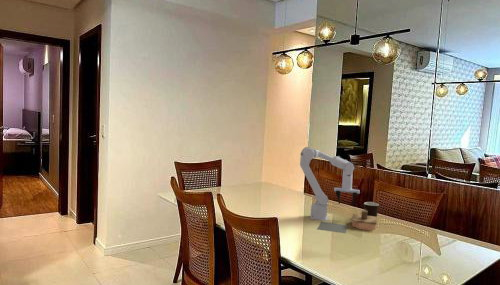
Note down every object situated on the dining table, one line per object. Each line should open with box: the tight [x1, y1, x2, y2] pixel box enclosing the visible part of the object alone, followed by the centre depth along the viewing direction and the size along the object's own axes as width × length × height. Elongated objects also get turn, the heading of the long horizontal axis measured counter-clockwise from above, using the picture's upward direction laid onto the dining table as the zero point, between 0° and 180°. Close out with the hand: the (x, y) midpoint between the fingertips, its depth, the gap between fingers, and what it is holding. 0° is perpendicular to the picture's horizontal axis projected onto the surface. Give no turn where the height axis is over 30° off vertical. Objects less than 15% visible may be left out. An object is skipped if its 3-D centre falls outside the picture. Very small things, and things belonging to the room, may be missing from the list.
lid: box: [351, 209, 378, 226], centre depth 200 cm, size 13×13×5 cm
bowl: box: [352, 222, 376, 231], centre depth 201 cm, size 12×12×4 cm
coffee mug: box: [363, 201, 380, 218], centre depth 215 cm, size 12×9×10 cm
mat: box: [316, 221, 349, 234], centre depth 197 cm, size 15×15×1 cm
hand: (346, 204), depth 213 cm, fingers open, 7 cm apart
